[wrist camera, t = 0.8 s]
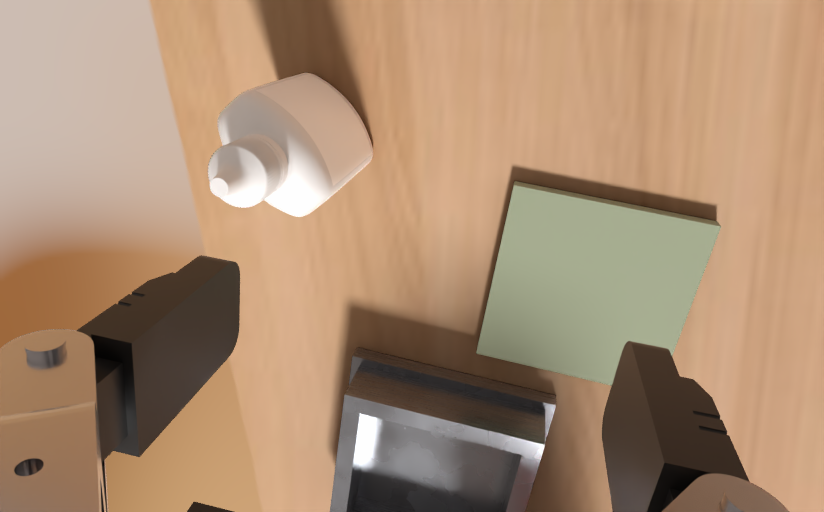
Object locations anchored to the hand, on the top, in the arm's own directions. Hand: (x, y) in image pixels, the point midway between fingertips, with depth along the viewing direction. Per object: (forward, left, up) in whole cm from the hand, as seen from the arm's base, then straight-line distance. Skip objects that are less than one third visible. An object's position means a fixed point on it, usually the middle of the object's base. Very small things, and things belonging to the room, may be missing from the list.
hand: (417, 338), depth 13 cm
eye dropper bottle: (+1, -9, -20) cm, 22 cm away
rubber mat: (+7, +6, -20) cm, 22 cm away
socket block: (+20, 0, -20) cm, 28 cm away
